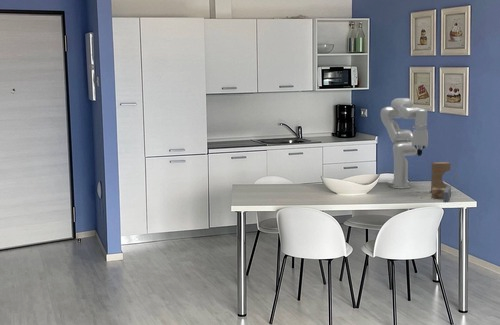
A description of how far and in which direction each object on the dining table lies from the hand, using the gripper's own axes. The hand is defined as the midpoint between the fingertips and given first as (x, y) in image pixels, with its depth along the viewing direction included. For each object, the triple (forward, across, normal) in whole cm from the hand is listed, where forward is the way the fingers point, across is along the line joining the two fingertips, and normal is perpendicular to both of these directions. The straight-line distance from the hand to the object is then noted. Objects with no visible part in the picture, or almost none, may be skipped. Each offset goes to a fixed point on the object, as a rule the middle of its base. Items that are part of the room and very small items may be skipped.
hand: (419, 155), depth 457 cm
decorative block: (+26, +14, +9) cm, 31 cm away
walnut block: (+25, +15, -10) cm, 31 cm away
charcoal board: (+25, +20, -10) cm, 33 cm away
